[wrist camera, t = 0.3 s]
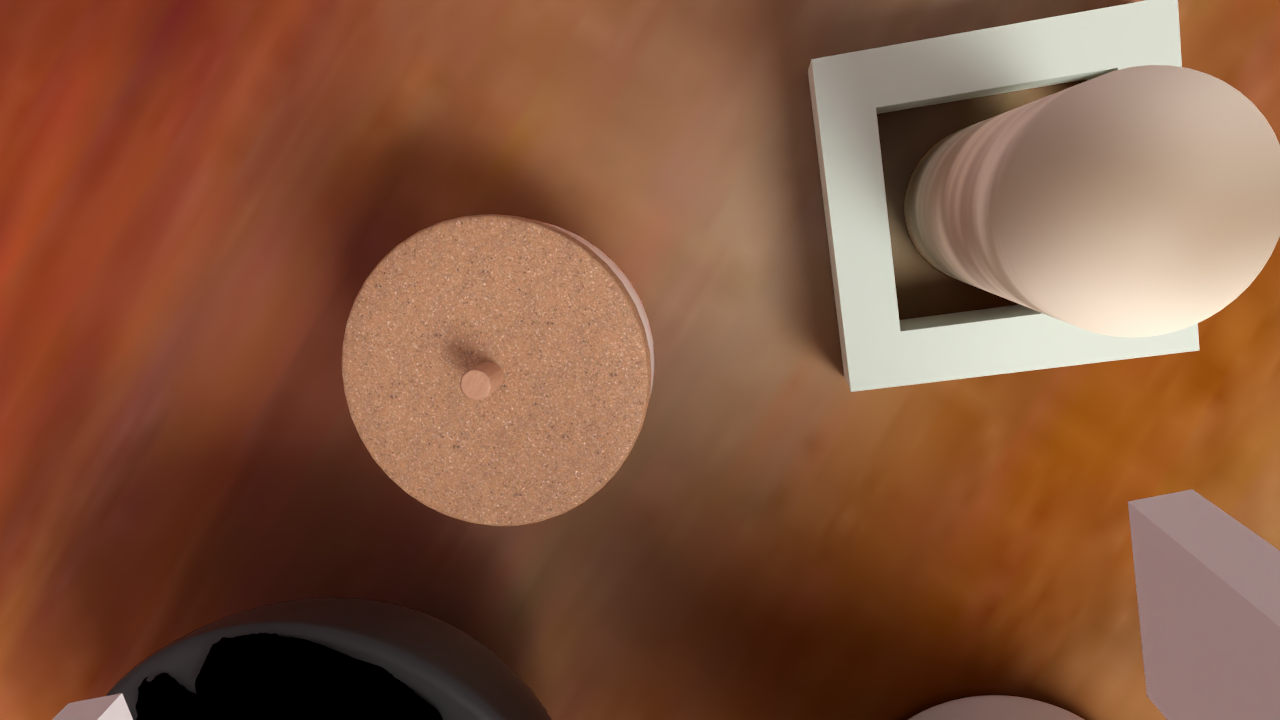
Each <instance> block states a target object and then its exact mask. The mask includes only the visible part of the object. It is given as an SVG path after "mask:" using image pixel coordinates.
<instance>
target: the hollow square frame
mask: <svg viewBox="0 0 1280 720" xmlns="http://www.w3.org/2000/svg"><path fill="white" fill-rule="evenodd" d="M1145 65H1171V66H1177V67H1182V61H1181V45H1180V29H1179V13H1178V0H1146V1H1140V2H1135V3H1129V4H1123V5H1118V6H1112V7H1106V8H1101V9H1095V10H1089V11H1083V12H1078V13H1072V14H1066V15H1061V16H1055V17H1049V18H1044V19H1038V20H1032V21H1026V22H1021V23H1015V24H1009V25H1004V26H998V27H992V28H987V29H981V30H975V31H969V32H964V33H958V34H952V35H947V36H941V37H935V38H930V39H924V40H918V41H912V42H907V43H901V44H895V45H890V46H884V47H878V48H873V49H867V50H861V51H855V52H850V53H844V54H838V55H833V56H827V57H821V58H816V59H811V62H810V66H809V69H808V78H809V86H810V95H811V103H812V111H813V120H814V128H815V136H816V145H817V153H818V162H819V170H820V178H821V187H822V195H823V203H824V212H825V220H826V228H827V237H828V245H829V253H830V262H831V270H832V279H833V287H834V295H835V304H836V312H837V320H838V329H839V337H840V345H841V354H842V362H843V370H844V377H845V380H846V382H847V384H848V386H849V388H850V391H851V392H853V391H862V390H870V389H879V388H887V387H895V386H904V385H912V384H921V383H929V382H937V381H946V380H954V379H963V378H971V377H980V376H988V375H996V374H1005V373H1013V372H1022V371H1030V370H1038V369H1047V368H1055V367H1064V366H1072V365H1080V364H1089V363H1097V362H1106V361H1114V360H1122V359H1131V358H1139V357H1148V356H1156V355H1164V354H1173V353H1181V352H1190V351H1198V350H1199V336H1198V323H1196V324H1194V325H1192V326H1190V327H1187V328H1184V329H1181V330H1178V331H1175V332H1171V333H1167V334H1162V335H1157V336H1151V337H1136V338H1129V337H1114V336H1108V335H1103V334H1098V333H1094V332H1091V331H1088V330H1085V329H1082V328H1079V327H1076V326H1074V325H1071V324H1069V323H1066V322H1064V321H1061V320H1059V319H1056V318H1053V317H1051V316H1048V315H1046V314H1043V313H1041V312H1038V311H1036V310H1033V309H1031V308H1028V307H1026V306H1023V305H1020V304H1019V305H1012V306H1004V307H996V308H989V309H981V310H973V311H965V312H958V313H950V314H942V315H935V316H927V317H919V318H912V319H904V320H899V313H898V304H897V295H896V286H895V277H894V267H893V258H892V249H891V240H890V231H889V222H888V213H887V204H886V195H885V185H884V176H883V167H882V158H881V149H880V140H879V131H878V122H877V114H880V113H886V112H892V111H898V110H904V109H910V108H916V107H922V106H928V105H934V104H941V103H947V102H953V101H959V100H965V99H971V98H977V97H983V96H989V95H995V94H1001V93H1007V92H1014V91H1020V90H1026V89H1032V88H1038V87H1044V86H1050V85H1056V84H1062V83H1068V82H1074V81H1080V80H1086V79H1087V81H1088V80H1090V79H1093V78H1096V77H1098V76H1101V75H1104V74H1107V73H1109V72H1112V71H1116V70H1120V69H1125V68H1129V67H1136V66H1145Z"/></svg>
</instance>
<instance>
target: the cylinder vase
mask: <svg viewBox="0 0 1280 720" xmlns="http://www.w3.org/2000/svg"><path fill="white" fill-rule="evenodd" d="M908 720H1084V719H1083V718H1081V717H1079V716H1077V715H1075V714H1073V713H1071V712H1069V711H1067V710H1064V709H1062V708H1060V707H1057V706H1054V705H1051V704H1048V703H1045V702H1041V701H1038V700H1033V699H1028V698H1023V697H1015V696H1003V695H986V696H974V697H967V698H961V699H956V700H952V701H949V702H945V703H942V704H939V705H936V706H934V707H931V708H929V709H927V710H924V711H922V712H920V713H918V714H917V715H915V716H913V717H911V718H910V719H908Z"/></svg>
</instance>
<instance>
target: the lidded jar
mask: <svg viewBox="0 0 1280 720" xmlns="http://www.w3.org/2000/svg"><path fill="white" fill-rule="evenodd" d="M654 366H655V365H654V350H653V338H652V334H651V330H650V325H649V321H648V317H647V315H646V312H645V310H644V307H643V305H642V302H641V300H640V298H639V296H638V294H637V293H636V291H635V289H634V288H633V286H632V284H631V283H630V281H629V279H628V278H627V277H626V276H625V275H624V273H623V272H622V271H621V270H620V269H619V267H618V266H617V265H616V264H615V263H614V262H613V261H612V260H611V259H610V258H609V257H608V256H606V255H605V254H604V253H603V252H602V251H601V250H600V249H599V248H597V247H595V246H594V245H592V244H591V243H589V242H588V241H586V240H585V239H583V238H581V237H580V236H578V235H576V234H574V233H572V232H569V231H567V230H565V229H563V228H560V227H558V226H556V225H552V224H548V223H544V222H540V221H537V220H531V219H527V218H524V217H520V216H511V215H500V214H483V215H469V216H462V217H458V218H454V219H450V220H445V221H441V222H439V223H436V224H434V225H432V226H429V227H427V228H425V229H422V230H420V231H418V232H416V233H415V234H413V235H412V236H410V237H409V238H407V239H406V240H404V241H402V242H401V243H399V244H398V245H397V246H396V247H395V248H394V249H392V250H391V251H390V252H389V253H388V254H387V255H386V256H385V257H384V258H383V259H381V260H380V262H379V263H378V264H377V266H376V267H375V268H374V269H373V271H372V272H371V273H370V274H369V276H368V277H367V278H366V280H365V282H364V283H363V285H362V287H361V289H360V291H359V293H358V294H357V296H356V298H355V300H354V303H353V306H352V308H351V311H350V314H349V317H348V320H347V323H346V328H345V334H344V339H343V344H342V377H343V386H344V394H345V397H346V401H347V404H348V408H349V412H350V415H351V418H352V420H353V423H354V425H355V427H356V429H357V432H358V434H359V436H360V439H361V440H362V442H363V443H364V445H365V447H366V448H367V450H368V451H369V453H370V455H371V456H372V458H373V459H374V460H375V462H376V463H377V464H378V465H379V466H380V468H381V469H382V470H383V471H384V472H385V473H386V475H387V476H388V477H389V478H390V479H391V480H392V481H394V482H395V483H396V484H397V485H398V486H399V487H400V488H401V489H403V490H404V491H405V492H406V493H407V494H409V495H410V496H412V497H413V498H415V499H416V500H418V501H419V502H421V503H422V504H424V505H426V506H427V507H429V508H431V509H434V510H436V511H438V512H440V513H442V514H444V515H447V516H449V517H452V518H456V519H459V520H462V521H466V522H469V523H474V524H482V525H489V526H519V525H525V524H531V523H536V522H541V521H544V520H547V519H550V518H553V517H556V516H559V515H561V514H564V513H566V512H567V511H569V510H571V509H573V508H575V507H577V506H578V505H580V504H582V503H584V502H585V501H586V500H588V499H589V498H590V497H592V496H593V495H594V494H595V493H597V492H598V491H599V490H601V489H602V488H603V487H604V486H605V485H606V483H607V482H608V481H609V480H610V479H611V478H612V477H613V476H614V475H615V474H616V473H617V472H618V470H619V469H620V467H621V466H622V464H623V463H624V461H625V460H626V458H627V456H628V455H629V453H630V452H631V450H632V449H633V447H634V444H635V442H636V440H637V438H638V435H639V433H640V431H641V429H642V426H643V424H644V420H645V416H646V412H647V408H648V404H649V400H650V396H651V392H652V388H653V377H654Z"/></svg>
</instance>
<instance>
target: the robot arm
mask: <svg viewBox="0 0 1280 720" xmlns="http://www.w3.org/2000/svg"><path fill="white" fill-rule="evenodd" d="M1128 506H1129V517H1130V527H1131V537H1132V547H1133V558H1134V568H1135V578H1136V588H1137V599H1138V609H1139V619H1140V629H1141V640H1142V650H1143V660H1144V670H1145V681H1146V691H1147V696H1148V697H1149V699H1150V700H1151V701H1152V702H1153V703H1154V705H1155V706H1156V707H1157V708H1158V709H1159V711H1160V712H1161V713H1162V714H1163V715H1164V717H1165V718H1166V719H1167V720H1280V551H1279V550H1278V549H1277V548H1275V547H1274V546H1272V545H1271V544H1269V543H1268V542H1267V541H1265V540H1264V539H1262V538H1261V537H1259V536H1258V535H1257V534H1255V533H1254V532H1252V531H1251V530H1249V529H1248V528H1247V527H1245V526H1244V525H1242V524H1241V523H1240V522H1238V521H1237V520H1235V519H1234V518H1232V517H1231V516H1230V515H1228V514H1227V513H1225V512H1224V511H1222V510H1221V509H1220V508H1218V507H1217V506H1215V505H1214V504H1212V503H1211V502H1210V501H1208V500H1207V499H1205V498H1204V497H1202V496H1201V495H1200V494H1198V493H1197V492H1195V491H1194V490H1187V491H1182V492H1176V493H1171V494H1166V495H1160V496H1155V497H1150V498H1145V499H1139V500H1134V501H1129V502H1128ZM52 720H133V718H132V716H131V713H130V711H129V709H128V706H127V704H126V701H125V699H124V697H123V694H122V693H120V694H115V695H110V696H104V697H99V698H94V699H89V700H83V701H78V702H73V703H68V704H67V705H66V706H65V707H64V708H63V709H62V710H61V711H60V712H59V713H58V714H57V715H56V716H55V717H54V718H53V719H52Z"/></svg>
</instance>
